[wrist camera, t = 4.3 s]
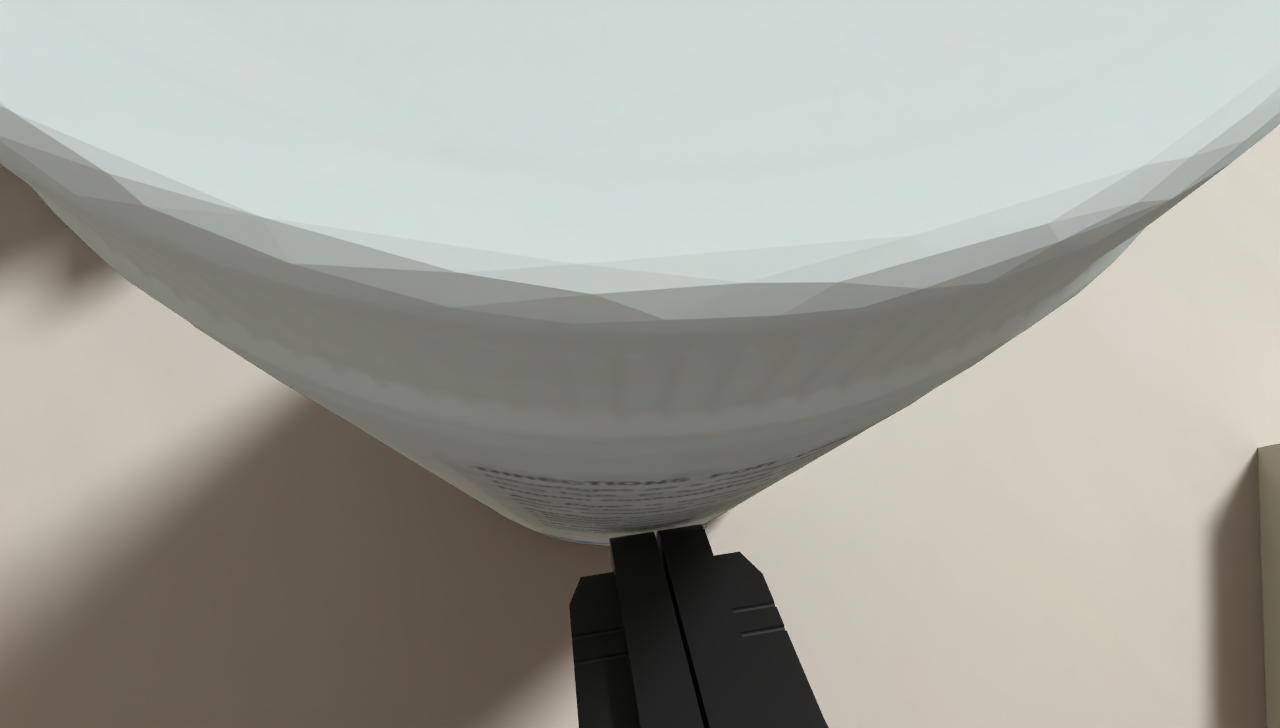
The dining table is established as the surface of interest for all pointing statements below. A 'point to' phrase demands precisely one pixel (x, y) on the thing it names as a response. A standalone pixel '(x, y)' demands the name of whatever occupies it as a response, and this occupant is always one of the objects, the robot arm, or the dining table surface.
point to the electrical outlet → (1270, 574)
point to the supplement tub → (622, 207)
